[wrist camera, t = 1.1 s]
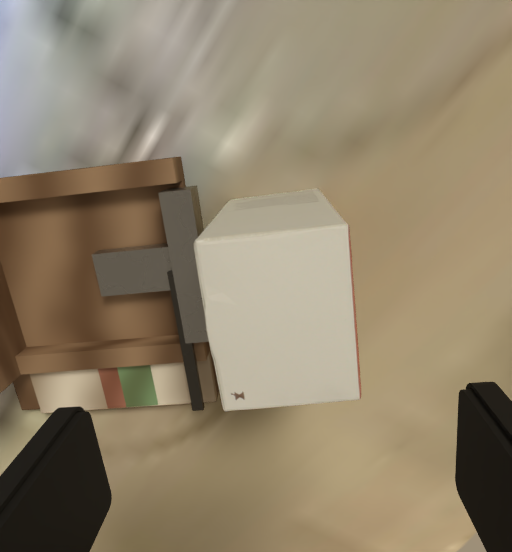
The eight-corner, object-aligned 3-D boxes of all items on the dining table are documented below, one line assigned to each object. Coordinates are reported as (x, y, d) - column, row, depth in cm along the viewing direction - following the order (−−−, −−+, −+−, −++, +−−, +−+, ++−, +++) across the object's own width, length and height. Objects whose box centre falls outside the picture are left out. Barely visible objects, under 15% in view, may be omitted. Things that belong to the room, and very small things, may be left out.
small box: (330, 298, 31) (363, 405, 19) (244, 307, 32) (220, 416, 19) (321, 185, 29) (351, 221, 16) (227, 197, 29) (187, 241, 17)
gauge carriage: (196, 185, 28) (190, 189, 26) (228, 392, 33) (225, 409, 31) (86, 198, 29) (72, 202, 27) (133, 399, 33) (123, 416, 31)
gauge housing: (180, 156, 28) (139, 164, 20) (218, 391, 34) (198, 474, 25) (-44, 183, 30) (-170, 200, 21) (27, 404, 35) (-52, 487, 27)
